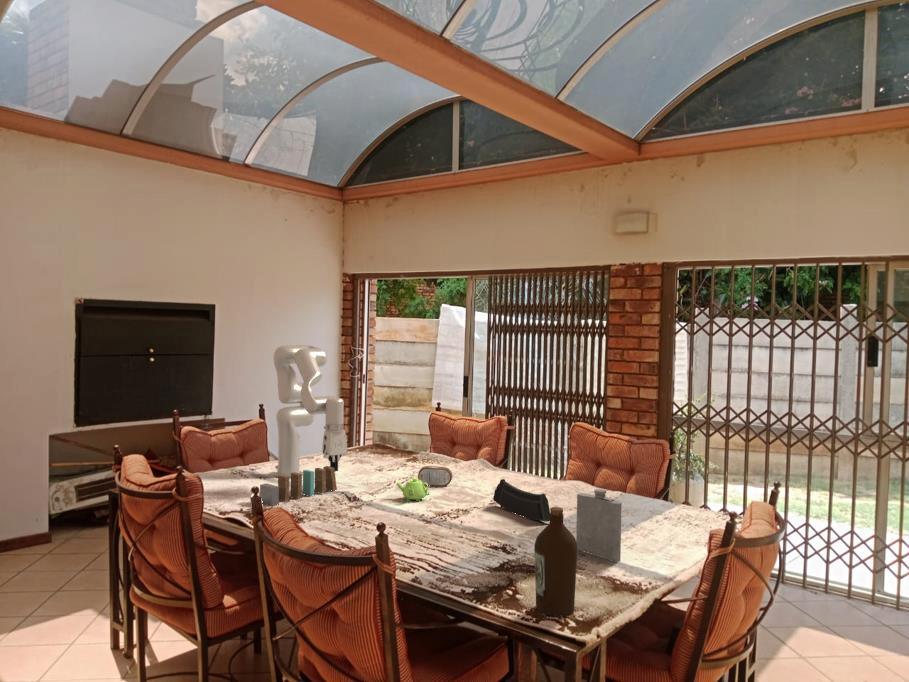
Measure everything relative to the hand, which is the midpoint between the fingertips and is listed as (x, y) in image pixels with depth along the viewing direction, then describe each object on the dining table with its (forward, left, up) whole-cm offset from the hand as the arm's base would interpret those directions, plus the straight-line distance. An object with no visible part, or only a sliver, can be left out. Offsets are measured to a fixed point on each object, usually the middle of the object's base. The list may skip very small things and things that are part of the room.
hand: (334, 470), depth 294 cm
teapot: (+35, +12, -8) cm, 38 cm away
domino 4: (0, -7, -8) cm, 11 cm away
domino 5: (0, -1, -8) cm, 8 cm away
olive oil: (+137, -42, -8) cm, 144 cm away
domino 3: (0, -13, -8) cm, 16 cm away
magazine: (+80, +24, -8) cm, 84 cm away
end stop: (0, -32, -8) cm, 33 cm away
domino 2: (0, -19, -8) cm, 21 cm away
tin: (+25, +36, -8) cm, 44 cm away
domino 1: (0, -25, -8) cm, 27 cm away
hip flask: (+124, +3, -8) cm, 124 cm away
